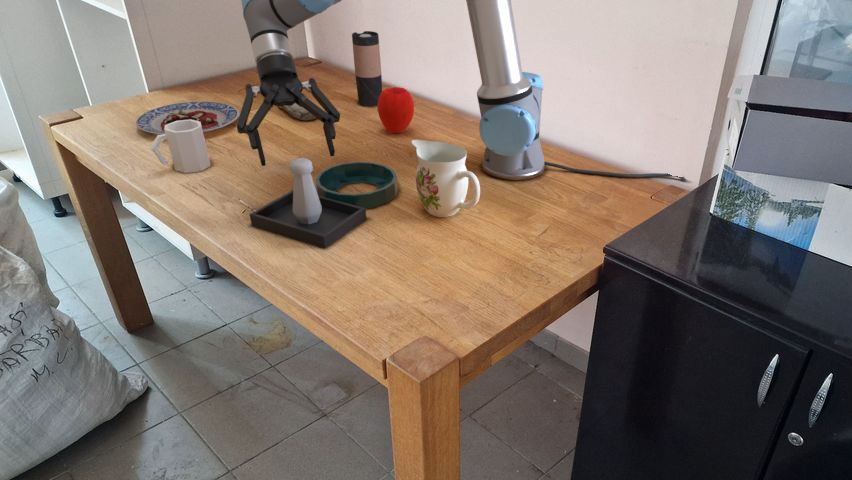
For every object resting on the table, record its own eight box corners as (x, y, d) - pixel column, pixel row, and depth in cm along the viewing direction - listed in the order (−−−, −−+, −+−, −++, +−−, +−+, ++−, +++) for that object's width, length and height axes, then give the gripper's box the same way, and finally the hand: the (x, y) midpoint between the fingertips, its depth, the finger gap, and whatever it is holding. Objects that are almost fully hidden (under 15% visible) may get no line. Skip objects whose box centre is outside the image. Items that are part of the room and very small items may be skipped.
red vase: (405, 140, 173) (403, 95, 166) (372, 135, 176) (368, 90, 169) (421, 128, 181) (419, 84, 174) (389, 123, 184) (386, 79, 177)
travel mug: (378, 108, 194) (373, 38, 183) (353, 105, 195) (347, 36, 184) (387, 100, 200) (382, 32, 189) (363, 97, 201) (357, 30, 190)
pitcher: (461, 234, 132) (461, 171, 125) (398, 207, 141) (394, 147, 134) (494, 214, 140) (496, 154, 132) (432, 190, 149) (430, 132, 141)
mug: (202, 155, 161) (193, 117, 155) (217, 166, 156) (208, 127, 150) (152, 168, 154) (140, 128, 148) (165, 180, 149) (154, 139, 143)
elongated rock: (293, 129, 181) (327, 124, 186) (291, 110, 178) (326, 106, 183) (253, 87, 204) (285, 85, 209) (251, 71, 201) (283, 68, 206)
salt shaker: (297, 228, 131) (287, 168, 124) (291, 216, 135) (281, 157, 128) (326, 223, 133) (318, 164, 126) (319, 211, 137) (311, 153, 130)
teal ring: (412, 185, 151) (411, 171, 149) (367, 216, 137) (365, 201, 135) (349, 169, 157) (348, 156, 155) (301, 198, 143) (298, 183, 141)
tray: (366, 219, 136) (365, 208, 135) (325, 248, 126) (323, 236, 125) (296, 199, 143) (294, 188, 141) (251, 225, 133) (249, 214, 131)
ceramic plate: (252, 130, 175) (250, 120, 174) (148, 149, 163) (145, 138, 161) (226, 103, 193) (224, 93, 191) (130, 118, 181) (127, 107, 179)
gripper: (334, 66, 142) (358, 157, 139) (211, 77, 133) (234, 174, 130) (337, 47, 135) (362, 142, 132) (208, 57, 126) (231, 159, 123)
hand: (298, 158), depth 131 cm, fingers open, 13 cm apart
